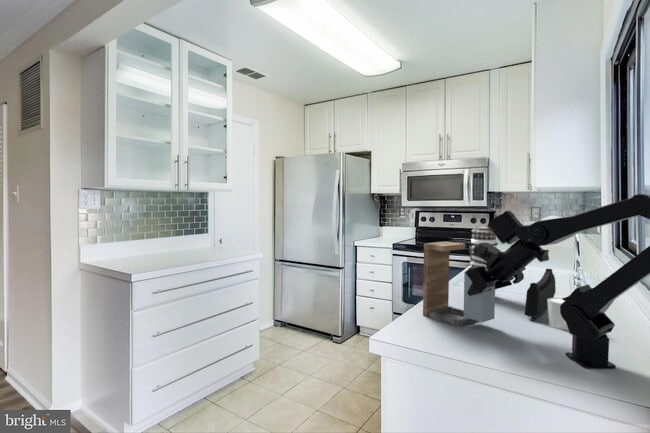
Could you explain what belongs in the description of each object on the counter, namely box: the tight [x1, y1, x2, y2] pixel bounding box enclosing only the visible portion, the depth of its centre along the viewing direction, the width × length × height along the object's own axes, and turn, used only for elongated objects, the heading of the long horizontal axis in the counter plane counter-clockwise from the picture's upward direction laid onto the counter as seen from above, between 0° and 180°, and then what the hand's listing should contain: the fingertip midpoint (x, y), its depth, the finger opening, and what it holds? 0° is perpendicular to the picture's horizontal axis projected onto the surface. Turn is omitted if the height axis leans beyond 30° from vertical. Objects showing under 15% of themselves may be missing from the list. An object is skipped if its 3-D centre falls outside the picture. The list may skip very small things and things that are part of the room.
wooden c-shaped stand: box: [422, 241, 477, 328], centre depth 106 cm, size 12×10×22 cm
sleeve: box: [463, 270, 496, 323], centre depth 99 cm, size 6×6×12 cm
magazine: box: [524, 268, 557, 318], centre depth 114 cm, size 17×3×30 cm
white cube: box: [547, 297, 569, 331], centre depth 99 cm, size 7×7×7 cm
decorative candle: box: [468, 225, 498, 270], centre depth 129 cm, size 9×9×25 cm
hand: (474, 292), depth 100 cm, fingers closed on sleeve, 6 cm apart
